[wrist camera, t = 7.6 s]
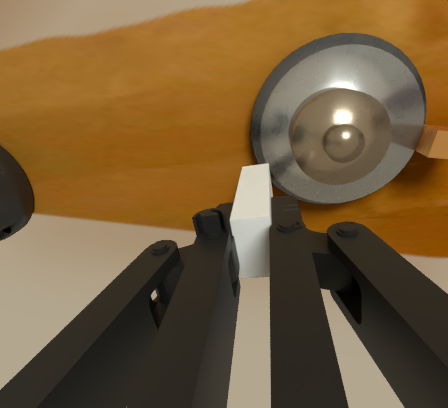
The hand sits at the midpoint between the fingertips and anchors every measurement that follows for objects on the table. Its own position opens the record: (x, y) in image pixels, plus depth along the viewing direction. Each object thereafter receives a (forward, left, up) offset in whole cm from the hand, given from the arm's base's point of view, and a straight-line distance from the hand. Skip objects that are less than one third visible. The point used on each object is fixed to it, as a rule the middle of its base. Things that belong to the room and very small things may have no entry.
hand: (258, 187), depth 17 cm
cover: (+7, +1, -14) cm, 15 cm away
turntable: (+10, +1, -15) cm, 18 cm away
